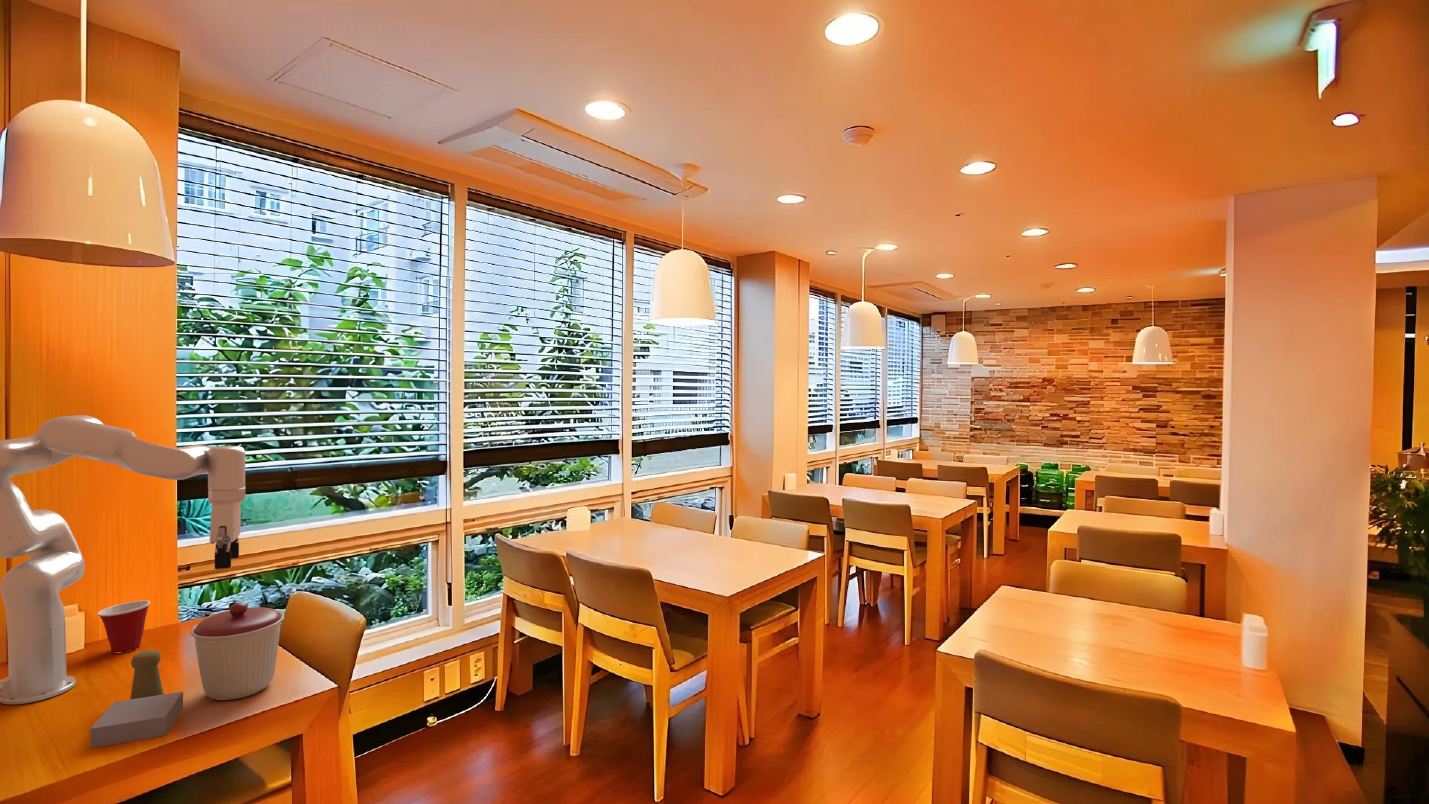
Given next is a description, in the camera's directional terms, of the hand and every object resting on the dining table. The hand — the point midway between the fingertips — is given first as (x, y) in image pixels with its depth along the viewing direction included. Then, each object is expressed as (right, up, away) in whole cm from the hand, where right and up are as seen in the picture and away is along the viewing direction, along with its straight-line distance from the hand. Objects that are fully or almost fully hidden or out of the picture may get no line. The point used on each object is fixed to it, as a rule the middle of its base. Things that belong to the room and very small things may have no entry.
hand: (227, 563), depth 166 cm
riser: (0, -29, -25) cm, 38 cm away
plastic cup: (-38, -27, +14) cm, 49 cm away
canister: (+9, -29, -8) cm, 31 cm away
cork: (-9, -29, -13) cm, 33 cm away
